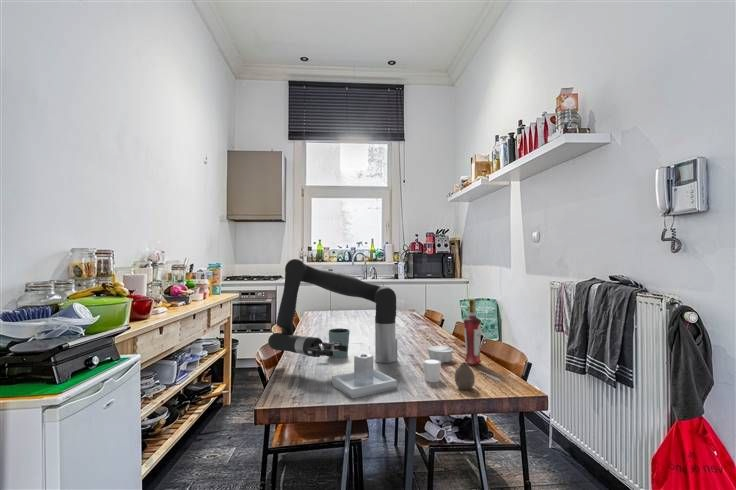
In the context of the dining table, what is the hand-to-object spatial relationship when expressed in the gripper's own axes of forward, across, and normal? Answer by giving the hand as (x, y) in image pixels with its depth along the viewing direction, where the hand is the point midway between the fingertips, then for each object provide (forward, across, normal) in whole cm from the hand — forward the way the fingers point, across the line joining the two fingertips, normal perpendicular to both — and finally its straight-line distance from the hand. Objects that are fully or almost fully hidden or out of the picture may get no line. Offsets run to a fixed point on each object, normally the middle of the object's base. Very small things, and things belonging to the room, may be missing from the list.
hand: (339, 351), depth 141 cm
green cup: (-23, +28, +11) cm, 38 cm away
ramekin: (+20, +47, +12) cm, 53 cm away
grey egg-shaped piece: (+42, +18, +12) cm, 47 cm away
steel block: (+11, 0, +10) cm, 15 cm away
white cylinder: (+28, +20, +12) cm, 37 cm away
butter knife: (+39, +41, +12) cm, 58 cm away
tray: (+11, 0, +11) cm, 16 cm away
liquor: (+34, +50, +12) cm, 62 cm away
